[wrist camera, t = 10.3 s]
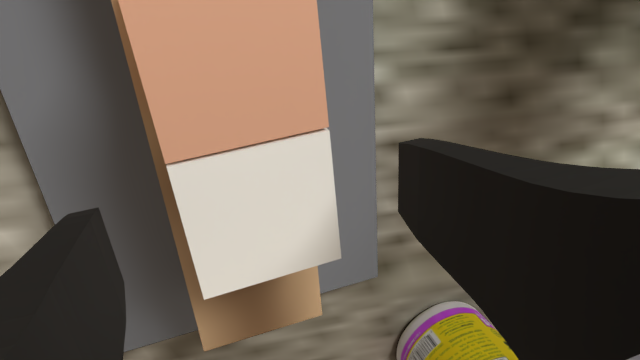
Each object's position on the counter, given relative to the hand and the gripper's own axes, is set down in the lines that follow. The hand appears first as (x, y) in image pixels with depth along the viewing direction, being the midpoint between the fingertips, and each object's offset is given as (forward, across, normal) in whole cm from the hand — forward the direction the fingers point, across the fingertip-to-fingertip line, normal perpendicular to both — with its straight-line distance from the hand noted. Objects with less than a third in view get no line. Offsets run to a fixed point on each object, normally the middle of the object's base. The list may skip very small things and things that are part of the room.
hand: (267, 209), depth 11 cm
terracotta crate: (+5, 0, -3) cm, 6 cm away
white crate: (+5, 0, +1) cm, 5 cm away
